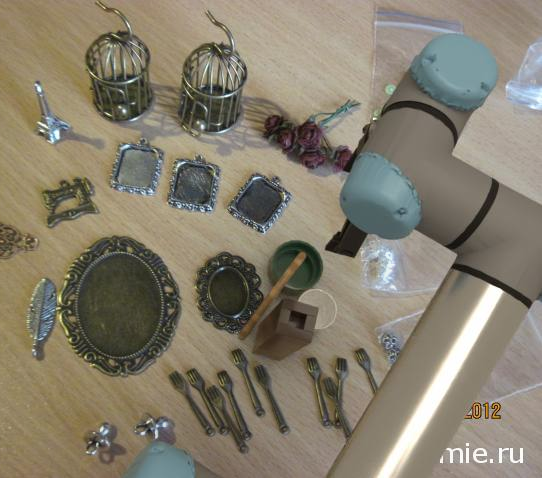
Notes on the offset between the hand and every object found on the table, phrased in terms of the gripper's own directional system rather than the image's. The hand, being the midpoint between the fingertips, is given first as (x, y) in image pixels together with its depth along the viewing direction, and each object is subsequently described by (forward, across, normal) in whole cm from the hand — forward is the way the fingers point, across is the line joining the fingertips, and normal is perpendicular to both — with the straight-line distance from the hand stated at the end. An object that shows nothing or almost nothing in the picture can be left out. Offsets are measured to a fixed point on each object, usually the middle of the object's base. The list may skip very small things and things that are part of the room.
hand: (342, 209), depth 84 cm
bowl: (+37, 0, 0) cm, 37 cm away
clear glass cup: (+37, +9, +5) cm, 38 cm away
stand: (+37, +16, -1) cm, 40 cm away
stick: (+31, +8, -4) cm, 33 cm away
